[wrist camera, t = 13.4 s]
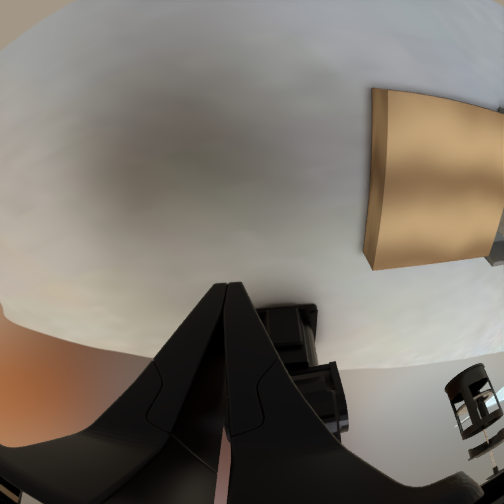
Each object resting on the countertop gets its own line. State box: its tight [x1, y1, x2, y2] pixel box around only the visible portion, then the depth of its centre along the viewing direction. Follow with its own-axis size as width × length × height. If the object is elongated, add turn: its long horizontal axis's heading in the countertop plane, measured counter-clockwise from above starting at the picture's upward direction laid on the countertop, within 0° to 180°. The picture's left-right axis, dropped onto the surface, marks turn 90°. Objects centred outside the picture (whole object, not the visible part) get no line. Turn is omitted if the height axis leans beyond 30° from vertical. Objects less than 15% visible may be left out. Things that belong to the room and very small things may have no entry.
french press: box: [445, 363, 504, 480], centre depth 29 cm, size 12×9×23 cm
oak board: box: [363, 88, 504, 271], centre depth 17 cm, size 13×13×2 cm
